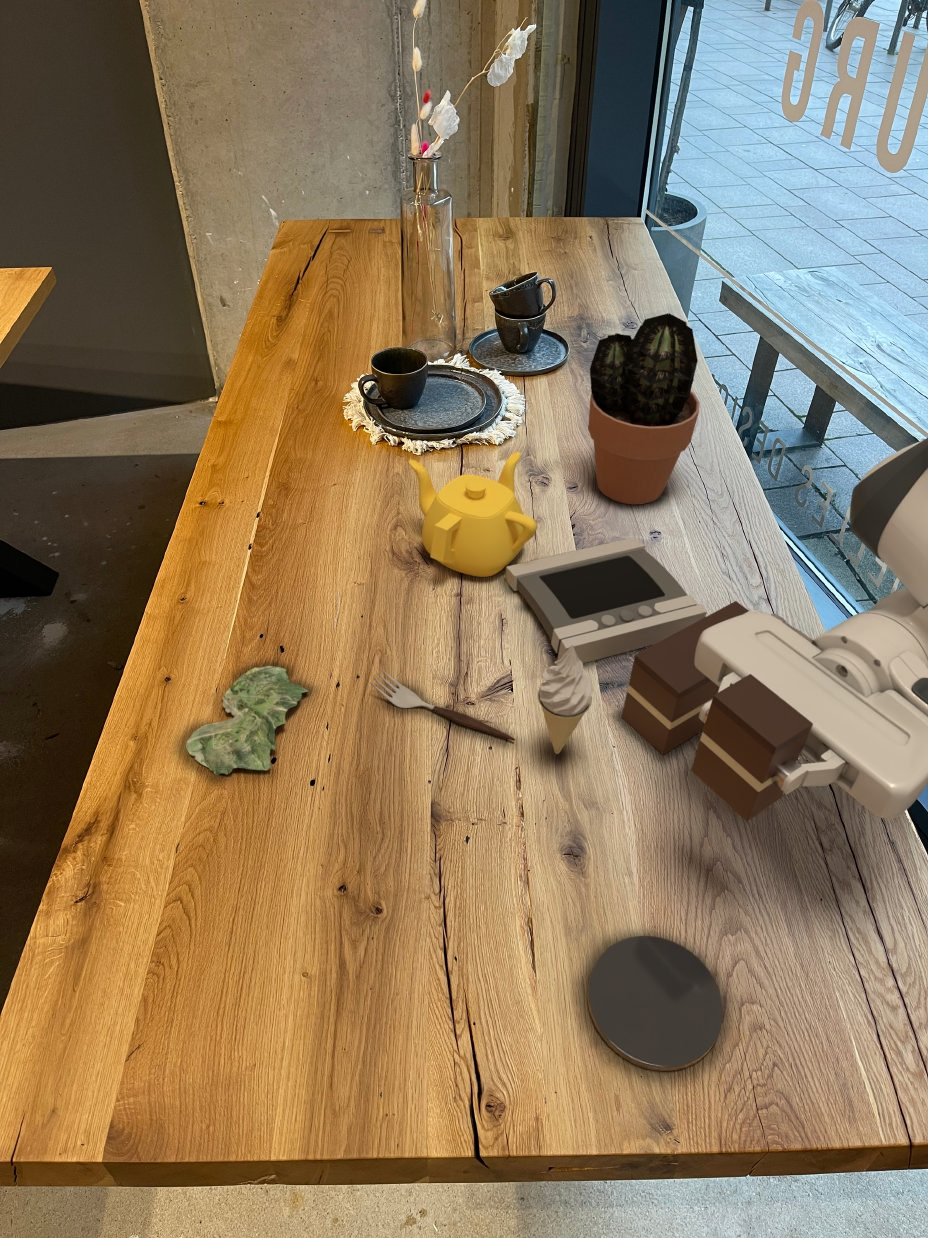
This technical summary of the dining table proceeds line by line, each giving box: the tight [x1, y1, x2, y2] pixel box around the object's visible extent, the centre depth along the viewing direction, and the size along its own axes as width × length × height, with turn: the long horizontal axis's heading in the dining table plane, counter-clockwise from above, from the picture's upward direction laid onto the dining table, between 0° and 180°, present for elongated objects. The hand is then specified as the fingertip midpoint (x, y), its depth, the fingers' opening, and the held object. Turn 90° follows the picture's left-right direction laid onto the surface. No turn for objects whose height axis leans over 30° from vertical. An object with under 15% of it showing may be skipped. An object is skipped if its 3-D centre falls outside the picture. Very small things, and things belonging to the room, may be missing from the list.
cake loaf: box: [621, 600, 750, 755], centre depth 91 cm, size 14×6×9 cm, turn 125°
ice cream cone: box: [537, 645, 593, 755], centre depth 85 cm, size 5×5×15 cm
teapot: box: [408, 451, 538, 578], centre depth 109 cm, size 14×13×10 cm
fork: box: [369, 668, 516, 742], centre depth 92 cm, size 3×16×2 cm, turn 63°
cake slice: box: [690, 674, 813, 823], centre depth 70 cm, size 4×6×9 cm, turn 35°
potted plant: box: [587, 312, 701, 505], centre depth 115 cm, size 14×14×25 cm
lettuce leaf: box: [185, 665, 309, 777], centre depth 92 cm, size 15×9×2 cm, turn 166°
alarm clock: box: [505, 536, 708, 664], centre depth 105 cm, size 17×5×16 cm
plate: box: [587, 935, 724, 1072], centre depth 71 cm, size 10×10×1 cm
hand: (742, 750), depth 69 cm, fingers closed on cake slice, 6 cm apart
